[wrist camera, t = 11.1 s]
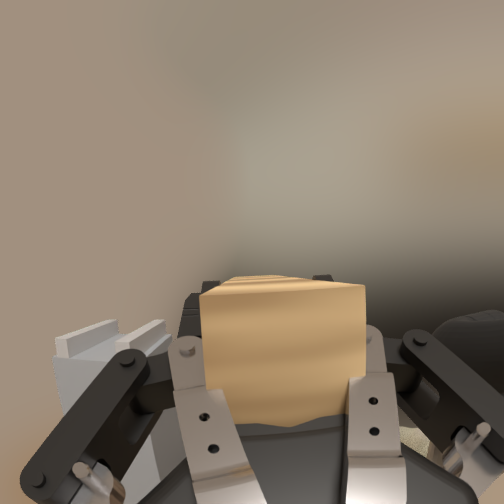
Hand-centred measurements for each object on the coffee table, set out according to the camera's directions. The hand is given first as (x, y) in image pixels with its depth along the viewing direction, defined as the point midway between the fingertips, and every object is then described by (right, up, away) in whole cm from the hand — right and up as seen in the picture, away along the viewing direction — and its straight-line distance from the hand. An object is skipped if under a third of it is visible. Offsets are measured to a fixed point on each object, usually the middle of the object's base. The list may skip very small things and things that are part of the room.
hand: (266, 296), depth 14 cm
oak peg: (0, -4, +6) cm, 7 cm away
